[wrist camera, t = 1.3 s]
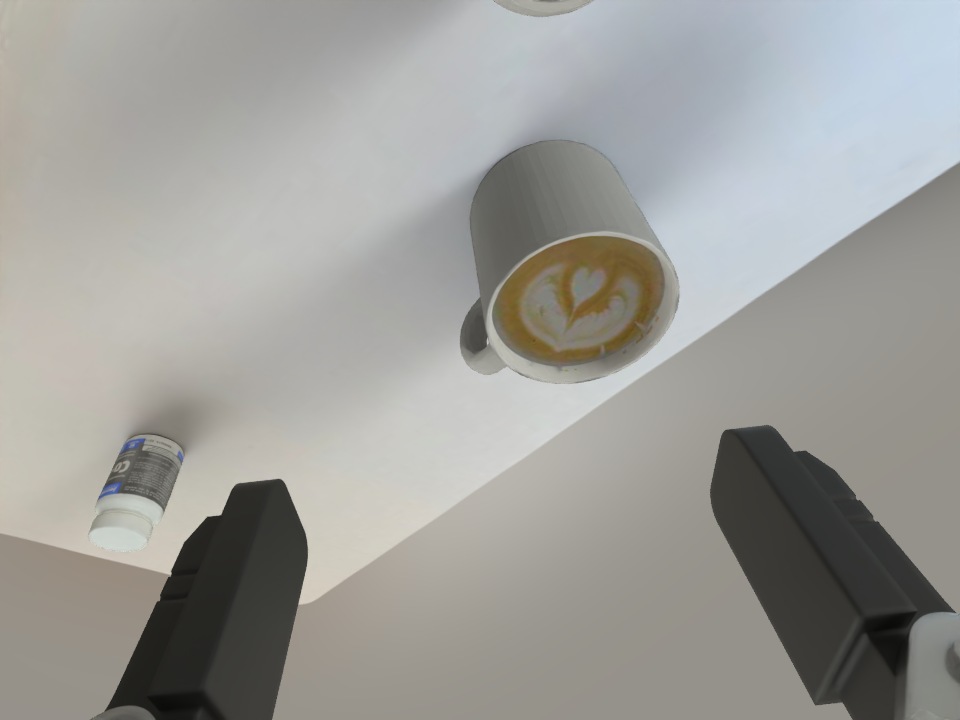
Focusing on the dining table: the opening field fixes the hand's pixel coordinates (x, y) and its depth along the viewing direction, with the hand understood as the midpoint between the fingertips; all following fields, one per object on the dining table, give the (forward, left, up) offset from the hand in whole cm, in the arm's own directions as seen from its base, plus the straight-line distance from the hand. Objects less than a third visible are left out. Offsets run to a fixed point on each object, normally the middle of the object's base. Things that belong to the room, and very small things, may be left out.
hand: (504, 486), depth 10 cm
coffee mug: (+9, +7, -26) cm, 28 cm away
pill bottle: (+34, -20, -26) cm, 47 cm away
